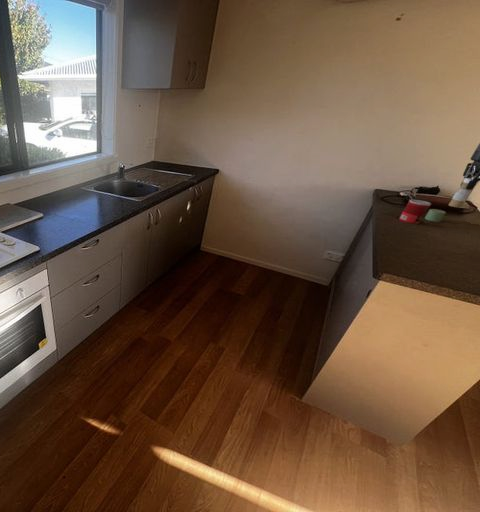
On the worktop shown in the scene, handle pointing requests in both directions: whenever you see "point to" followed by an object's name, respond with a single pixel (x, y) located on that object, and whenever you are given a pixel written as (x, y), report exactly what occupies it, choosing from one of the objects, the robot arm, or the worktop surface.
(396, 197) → the worktop surface
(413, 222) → the canned food
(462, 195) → the sprinkles bottle
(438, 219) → the green rounded block
